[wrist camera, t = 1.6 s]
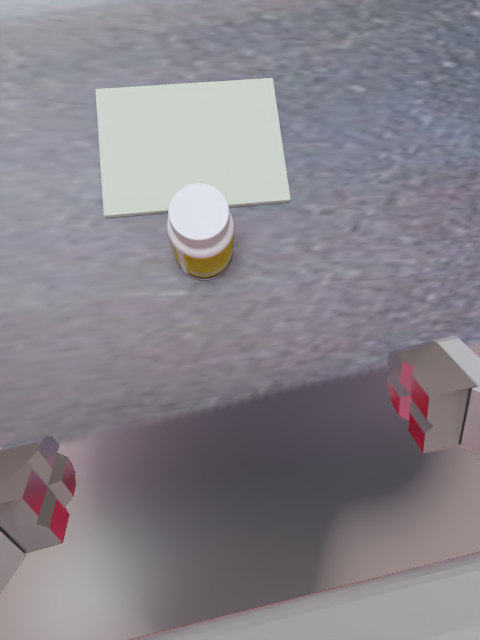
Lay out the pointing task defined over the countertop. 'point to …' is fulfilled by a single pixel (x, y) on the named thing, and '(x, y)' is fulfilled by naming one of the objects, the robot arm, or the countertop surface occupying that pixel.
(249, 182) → the rubber mat
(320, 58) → the countertop surface
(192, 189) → the supplement bottle
